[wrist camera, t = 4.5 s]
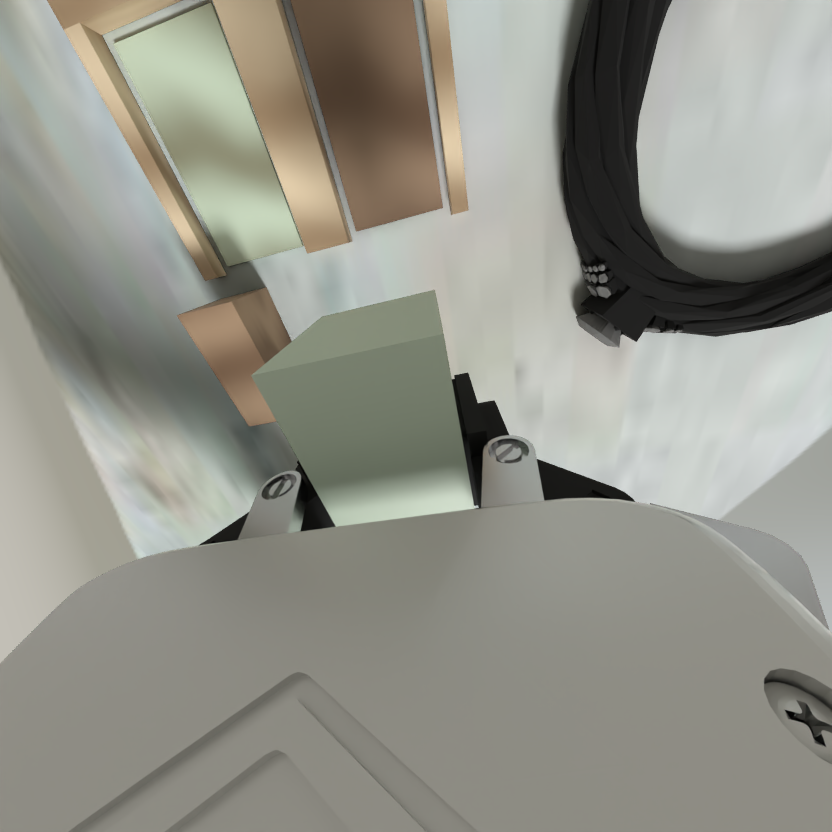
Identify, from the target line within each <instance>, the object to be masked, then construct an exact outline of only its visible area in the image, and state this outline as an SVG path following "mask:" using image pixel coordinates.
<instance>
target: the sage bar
mask: <svg viewBox="0 0 832 832" xmlns="http://www.w3.org/2000/svg"><path fill="white" fill-rule="evenodd" d="M251 377H252V378H253V380H254V382H255V384H256V385H257V387H258V389H259V391H260V393H261V394H262V396H263V398H264V400H265V401H266V403H267V405H268V407H269V409H270V410H271V412H272V414H273V416H274V417H275V419H276V421H277V423H278V425H279V426H280V428H281V430H282V432H283V433H284V435H285V437H286V439H287V441H288V442H289V444H290V446H291V448H292V449H293V451H294V453H295V455H296V457H297V458H298V460H299V462H300V464H301V465H302V467H303V469H304V471H305V473H306V474H307V476H308V478H309V480H310V481H311V483H312V485H313V487H314V489H315V490H316V492H317V494H318V496H319V497H320V499H321V501H322V503H323V505H324V506H325V508H326V510H327V512H328V513H329V515H330V517H331V519H332V521H333V522H334V524H335V526H336V527H338V526H345V525H353V524H360V523H368V522H375V521H383V520H390V519H398V518H406V517H413V516H421V515H428V514H436V513H444V512H452V511H460V510H467V509H475V508H474V502H473V497H472V491H471V485H470V480H469V474H468V469H467V463H466V457H465V452H464V446H463V440H462V435H461V429H460V424H459V418H458V412H457V407H456V401H455V396H454V390H453V384H452V379H451V373H450V368H449V362H448V356H447V351H446V345H445V340H444V334H443V329H442V324H441V319H440V314H439V309H438V303H437V298H436V293H435V290H432V291H428V292H424V293H419V294H415V295H411V296H407V297H403V298H398V299H394V300H390V301H386V302H382V303H377V304H373V305H369V306H365V307H361V308H356V309H352V310H348V311H344V312H340V313H335V314H331V315H327V316H323V317H321V318H320V319H319V320H317V321H316V322H315V323H314V324H313V325H311V326H310V327H309V328H308V329H307V330H305V331H304V332H303V333H302V334H301V335H299V336H298V337H297V338H296V339H295V340H293V341H292V342H291V343H290V344H288V345H287V346H286V347H285V348H284V349H282V350H281V351H280V352H279V353H278V354H276V355H275V356H274V357H273V358H272V359H270V360H269V361H268V362H267V363H265V364H264V365H263V366H262V367H261V368H259V369H258V370H257V371H256V372H255V373H253V374H252V375H251Z"/></svg>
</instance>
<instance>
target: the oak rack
mask: <svg viewBox="0 0 832 832" xmlns="http://www.w3.org/2000/svg"><path fill="white" fill-rule="evenodd" d="M47 1H48V3H49V5H50V6H51V8H52V10H53V12H54V13H55V15H56V17H57V19H58V21H59V22H60V24H61V26H62V28H63V29H64V31H65V33H66V35H67V37H68V38H69V40H70V42H71V44H72V45H73V47H74V49H75V51H76V53H77V54H78V56H79V58H80V60H81V61H82V63H83V65H84V67H85V68H86V70H87V72H88V74H89V76H90V77H91V79H92V81H93V83H94V84H95V86H96V88H97V90H98V92H99V93H100V95H101V97H102V99H103V100H104V102H105V104H106V106H107V108H108V109H109V111H110V113H111V115H112V116H113V118H114V120H115V122H116V123H117V125H118V127H119V129H120V131H121V132H122V134H123V136H124V138H125V139H126V141H127V143H128V145H129V147H130V148H131V150H132V152H133V154H134V155H135V157H136V159H137V161H138V163H139V164H140V166H141V168H142V170H143V171H144V173H145V175H146V177H147V178H148V180H149V182H150V184H151V186H152V187H153V189H154V191H155V193H156V194H157V196H158V198H159V200H160V202H161V203H162V205H163V207H164V209H165V210H166V212H167V214H168V216H169V218H170V219H171V221H172V223H173V225H174V226H175V228H176V230H177V232H178V233H179V235H180V237H181V239H182V241H183V242H184V244H185V246H186V248H187V249H188V251H189V253H190V255H191V257H192V258H193V260H194V262H195V264H196V265H197V267H198V269H199V271H200V273H201V274H202V276H203V278H204V280H205V281H207V280H211V279H215V278H218V277H222V276H226V275H227V274H226V273H225V271H224V269H223V267H222V265H221V263H220V261H219V259H218V257H217V255H216V253H215V252H214V250H213V248H212V246H211V244H210V242H209V240H208V238H207V236H206V234H205V232H204V230H203V229H202V227H201V225H200V223H199V221H198V219H197V217H196V215H195V213H194V211H193V209H192V207H191V206H190V204H189V202H188V200H187V198H186V196H185V194H184V192H183V190H182V188H181V186H180V184H179V183H178V181H177V179H176V177H175V175H174V173H173V171H172V169H171V167H170V165H169V163H168V161H167V160H166V158H165V156H164V154H163V152H162V150H161V148H160V146H159V144H158V142H157V140H156V138H155V137H154V135H153V133H152V131H151V129H150V127H149V125H148V123H147V121H146V119H145V117H144V115H143V114H142V112H141V110H140V108H139V106H138V104H137V102H136V100H135V98H134V96H133V94H132V93H131V91H130V89H129V87H128V85H127V83H126V81H125V79H124V77H123V75H122V73H121V71H120V70H119V68H118V66H117V64H116V62H115V60H114V58H113V56H112V54H111V52H110V50H109V48H108V47H107V45H106V43H105V41H104V39H103V37H102V35H103V34H106V33H108V32H110V31H113V30H115V29H117V28H120V27H122V26H124V25H126V24H129V23H131V22H133V21H136V20H138V19H140V18H143V17H145V16H147V15H150V14H152V13H154V12H156V11H159V10H161V9H163V8H166V7H168V6H170V5H173V4H175V3H177V2H180V1H182V0H47ZM213 3H214V5H215V8H216V11H217V13H218V16H219V19H220V21H221V24H222V27H223V29H224V32H225V35H226V37H227V40H228V43H229V45H230V48H231V51H232V53H233V56H234V59H235V61H236V64H237V67H238V69H239V72H240V75H241V77H242V80H243V83H244V86H245V88H246V91H247V94H248V96H249V99H250V102H251V104H252V107H253V110H254V112H255V115H256V118H257V120H258V123H259V126H260V128H261V131H262V134H263V136H264V139H265V142H266V144H267V147H268V150H269V152H270V155H271V158H272V160H273V163H274V166H275V168H276V171H277V174H278V176H279V179H280V182H281V184H280V182H279V179H278V176H277V174H276V171H275V168H274V166H273V163H272V160H271V158H270V155H269V152H268V150H267V147H266V144H265V142H264V139H263V136H262V134H261V131H260V128H259V126H258V123H257V120H256V118H255V115H254V112H253V110H252V107H251V104H250V102H249V99H248V96H247V94H246V91H245V88H244V86H243V83H242V80H241V78H240V75H239V72H238V70H237V67H236V64H235V62H234V59H233V56H232V54H231V51H230V48H229V46H228V43H227V40H226V38H225V35H224V32H223V30H222V27H221V24H220V22H219V19H218V16H217V14H216V11H215V8H214V6H213V4H212V3H208V4H206V5H204V6H201V7H199V8H197V9H194V10H192V11H189V12H187V13H185V14H182V15H180V16H178V17H175V18H173V19H171V20H168V21H166V22H164V23H161V24H159V25H157V26H154V27H152V28H150V29H147V30H145V31H142V32H140V33H138V34H135V35H133V36H131V37H128V38H126V39H124V40H121V41H119V42H117V43H114V44H113V45H114V47H115V49H116V51H117V52H118V54H119V56H120V58H121V60H122V62H123V64H124V66H125V68H126V70H127V72H128V74H129V76H130V78H131V80H132V82H133V84H134V86H135V88H136V89H137V91H138V93H139V95H140V97H141V99H142V101H143V103H144V105H145V107H146V109H147V111H148V113H149V115H150V117H151V119H152V121H153V123H154V125H155V126H156V128H157V130H158V132H159V134H160V136H161V138H162V140H163V142H164V144H165V146H166V148H167V150H168V152H169V154H170V156H171V158H172V160H173V162H174V163H175V165H176V167H177V169H178V171H179V173H180V175H181V177H182V179H183V181H184V183H185V185H186V187H187V189H188V191H189V193H190V195H191V197H192V199H193V200H194V202H195V204H196V206H197V208H198V210H199V212H200V214H201V216H202V218H203V220H204V222H205V224H206V226H207V228H208V230H209V232H210V234H211V235H212V237H213V239H214V241H215V243H216V245H217V247H218V249H219V251H220V253H221V255H222V257H223V259H224V261H225V263H226V265H227V267H228V266H232V265H236V264H239V263H243V262H247V261H250V260H254V259H258V258H261V257H265V256H269V255H272V254H276V253H280V252H283V251H287V250H291V249H294V248H298V247H302V246H303V243H304V246H305V249H306V251H307V253H311V252H315V251H319V250H322V249H326V248H330V247H333V246H337V245H341V244H345V243H348V242H352V238H351V235H350V232H349V228H348V225H347V221H346V218H345V215H344V211H343V208H342V204H341V201H340V198H339V194H338V191H337V187H336V184H335V181H334V177H333V174H332V171H331V167H330V164H329V160H328V157H327V154H326V150H325V147H324V143H323V140H322V137H321V133H320V130H319V126H318V123H317V120H316V116H315V113H314V110H313V106H312V103H311V99H310V96H309V93H308V89H307V86H306V82H305V79H304V76H303V72H302V69H301V65H300V62H299V59H298V55H297V52H296V49H295V45H294V42H293V38H292V35H291V32H290V28H289V25H288V21H287V18H286V15H285V11H284V8H283V4H282V1H281V0H213ZM291 4H292V7H293V11H294V14H295V18H296V21H297V25H298V28H299V32H300V35H301V39H302V43H303V46H304V50H305V53H306V57H307V60H308V64H309V67H310V71H311V74H312V78H313V81H314V85H315V88H316V92H317V95H318V99H319V102H320V106H321V109H322V113H323V116H324V120H325V123H326V127H327V130H328V134H329V137H330V141H331V144H332V148H333V151H334V155H335V159H336V162H337V166H338V169H339V173H340V176H341V180H342V183H343V187H344V190H345V194H346V197H347V201H348V204H349V208H350V211H351V215H352V218H353V222H354V225H355V229H356V231H360V230H364V229H367V228H371V227H375V226H378V225H382V224H386V223H389V222H393V221H397V220H400V219H404V218H408V217H411V216H415V215H418V214H422V213H426V212H429V211H433V210H437V209H440V208H443V206H442V199H441V192H440V185H439V178H438V171H437V164H436V157H435V150H434V143H433V137H432V130H431V123H430V116H429V109H428V102H427V95H426V88H425V81H424V74H423V67H422V60H421V53H420V46H419V39H418V32H417V25H416V19H415V12H414V5H413V0H291ZM423 5H424V13H425V20H426V28H427V35H428V43H429V50H430V58H431V65H432V73H433V80H434V88H435V96H436V103H437V111H438V118H439V126H440V133H441V141H442V148H443V156H444V163H445V171H446V178H447V186H448V194H449V201H450V209H451V215H452V214H456V213H460V212H464V211H467V210H468V201H467V192H466V182H465V173H464V164H463V154H462V145H461V135H460V126H459V116H458V107H457V97H456V88H455V79H454V69H453V60H452V50H451V41H450V31H449V22H448V12H447V3H446V0H423ZM281 185H282V187H283V190H284V192H283V190H282V187H281ZM284 193H285V195H286V198H287V200H286V198H285V195H284ZM287 201H288V203H289V206H290V208H289V206H288V203H287ZM290 209H291V211H292V214H293V216H292V214H291V211H290ZM293 217H294V219H295V222H296V224H295V222H294V219H293ZM296 225H297V227H298V230H299V232H298V230H297V227H296ZM299 233H300V235H301V238H302V240H301V238H300V235H299ZM302 241H303V243H302Z"/></svg>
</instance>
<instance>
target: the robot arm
mask: <svg viewBox="0 0 832 832" xmlns="http://www.w3.org/2000/svg"><path fill="white" fill-rule="evenodd" d="M454 377H455V379H452V384H453V390H454V396H455V401H456V407H457V412H458V418H459V424H460V429H461V435H462V440H463V446H464V452H465V457H466V463H467V469H468V474H469V480H470V485H471V491H472V497H473V502H474V506H476V505H478V506H479V508H475V509H467V510H460V511H452V512H444V513H436V514H428V515H421V516H413V517H406V518H398V519H390V520H383V521H375V522H368V523H360V524H353V525H345V526H338V527H336V526H335V524H334V522H333V521H332V519H331V517H330V515H329V513H328V512H327V510H326V508H325V506H324V505H323V503H322V501H321V499H320V497H319V496H318V494H317V492H316V490H315V489H314V487H313V485H312V483H311V481H310V480H309V478H308V476H307V474H306V473H305V471H304V469H303V467H302V465H301V464H300V462H299V460H298V462H297V463H298V466H297V468H296V470H295V471H286V472H282V473H280V474H277V475H275V476H274V477H272V478H270V479H269V480H268V481H266V482H265V483H264V484H263V485H262V486H261V488H260V489H259V491H258V493H257V495H256V497H255V500H254V502H253V505H252V507H251V509H250V512H248V513H247V514H245V515H244V516H242V517H241V518H239V519H238V520H236V521H235V522H233V523H232V524H231V525H229V526H228V527H226V528H225V529H223V530H222V531H220V532H219V533H217V534H216V535H214V536H213V537H211V538H210V539H208V540H207V541H205V542H203V543H201V544H200V545H199V546H194V547H188V548H182V549H177V550H171V551H166V552H162V553H158V554H154V555H150V556H146V557H143V558H141V559H138V560H135V561H132V562H129V563H126V564H124V565H121V566H119V567H117V568H115V569H112V570H110V571H108V572H106V573H104V574H102V575H100V576H98V577H96V578H95V579H93V580H91V581H89V582H87V583H86V584H84V585H83V586H81V587H80V588H78V589H77V590H76V591H74V592H73V593H72V594H71V595H70V596H69V597H67V598H66V599H65V600H64V601H63V602H62V603H61V604H60V605H59V606H58V607H57V608H56V609H55V610H54V611H52V612H51V614H49V615H48V616H47V617H46V618H45V619H44V620H43V621H42V622H41V623H40V624H39V625H38V626H37V627H36V628H35V629H34V630H33V631H32V632H31V633H30V634H29V635H28V636H27V637H26V638H25V639H24V640H23V641H22V642H21V643H20V644H19V645H18V646H17V647H16V648H15V649H14V650H13V651H12V652H11V653H10V654H9V655H8V656H7V657H6V658H5V659H4V660H3V661H2V662H1V663H0V832H832V633H831V632H830V631H829V628H828V625H827V622H826V619H825V616H824V613H823V610H822V607H821V605H820V602H819V598H818V595H817V593H816V589H815V586H814V584H813V580H812V577H811V574H810V572H809V569H808V566H807V564H806V563H805V561H804V560H803V558H802V556H801V555H800V554H799V553H798V552H796V551H795V550H794V549H793V548H792V547H791V546H789V545H788V544H786V543H785V542H783V541H781V540H779V539H778V538H776V537H774V536H772V535H770V534H767V533H764V532H761V531H758V530H755V529H751V528H747V527H743V526H739V525H735V524H731V523H727V522H723V521H719V520H715V519H711V518H707V517H703V516H699V515H695V514H691V513H687V512H683V511H679V510H675V509H671V508H667V507H663V506H659V505H655V504H651V503H650V504H645V503H639V502H635V501H634V500H633V498H631V497H630V496H629V495H627V494H626V493H625V492H623V491H621V490H619V489H617V488H615V487H612V486H609V485H606V484H604V483H601V482H598V481H595V480H593V479H590V478H587V477H585V476H582V475H579V474H576V473H574V472H571V471H568V470H565V469H563V468H560V467H557V466H555V465H552V464H549V463H546V462H544V461H541V460H538V459H537V458H536V453H535V449H534V446H533V444H532V443H531V442H529V441H528V440H527V439H524V438H522V437H519V436H513V435H509V433H508V431H507V429H506V426H505V424H504V422H503V419H502V417H501V414H500V412H499V410H498V407H497V405H496V403H495V401H488V402H483V403H477V399H476V396H475V393H474V390H473V387H472V384H471V380H470V377H469V374H468V373H464V374H459V375H454Z"/></svg>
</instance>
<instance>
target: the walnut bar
mask: <svg viewBox="0 0 832 832" xmlns="http://www.w3.org/2000/svg"><path fill="white" fill-rule="evenodd" d="M177 317H178V318H179V320H180V321H181V323H182V324H183V326H184V327H185V329H186V330H187V332H188V333H189V335H190V337H191V338H192V340H193V341H194V343H195V344H196V346H197V347H198V349H199V350H200V352H201V353H202V355H203V356H204V358H205V360H206V361H207V363H208V364H209V366H210V367H211V369H212V370H213V372H214V373H215V375H216V376H217V378H218V380H219V381H220V383H221V384H222V386H223V387H224V389H225V390H226V392H227V393H228V395H229V396H230V398H231V400H232V401H233V403H234V404H235V406H236V407H237V409H238V410H239V412H240V413H241V415H242V416H243V418H244V419H245V421H246V423H247V424H248V426H255V425H260V424H266V423H271V422H276V419H275V417H274V416H273V414H272V412H271V410H270V409H269V407H268V405H267V403H266V401H265V400H264V398H263V396H262V394H261V393H260V391H259V389H258V387H257V385H256V384H255V382H254V380H253V378H252V377H251V375H252V374H253V373H255V372H256V371H257V370H258V369H259V368H261V367H262V366H263V365H264V364H265V363H267V362H268V361H269V360H270V359H272V358H273V357H274V356H275V355H276V354H278V353H279V352H280V351H281V350H282V349H284V348H285V347H286V346H287V345H288V344H290V343H291V342H292V341H291V339H290V337H289V335H288V333H287V331H286V328H285V326H284V324H283V322H282V320H281V318H280V316H279V313H278V311H277V309H276V307H275V305H274V303H273V301H272V298H271V296H270V294H269V292H268V290H267V288H262V289H258V290H254V291H250V292H246V293H243V294H239V295H235V296H231V297H227V298H223V299H220V300H217V301H214V302H212V303H209V304H206V305H204V306H201V307H198V308H196V309H193V310H190V311H188V312H185V313H182V314H179V315H177Z"/></svg>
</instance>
